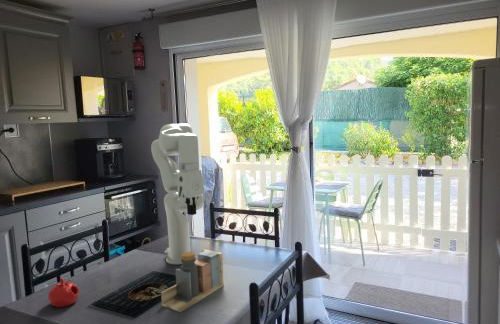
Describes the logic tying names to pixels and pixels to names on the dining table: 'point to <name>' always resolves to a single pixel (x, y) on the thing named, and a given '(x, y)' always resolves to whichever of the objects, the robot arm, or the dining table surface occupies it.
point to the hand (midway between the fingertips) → (191, 214)
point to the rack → (199, 281)
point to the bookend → (183, 285)
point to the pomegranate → (63, 294)
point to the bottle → (191, 270)
